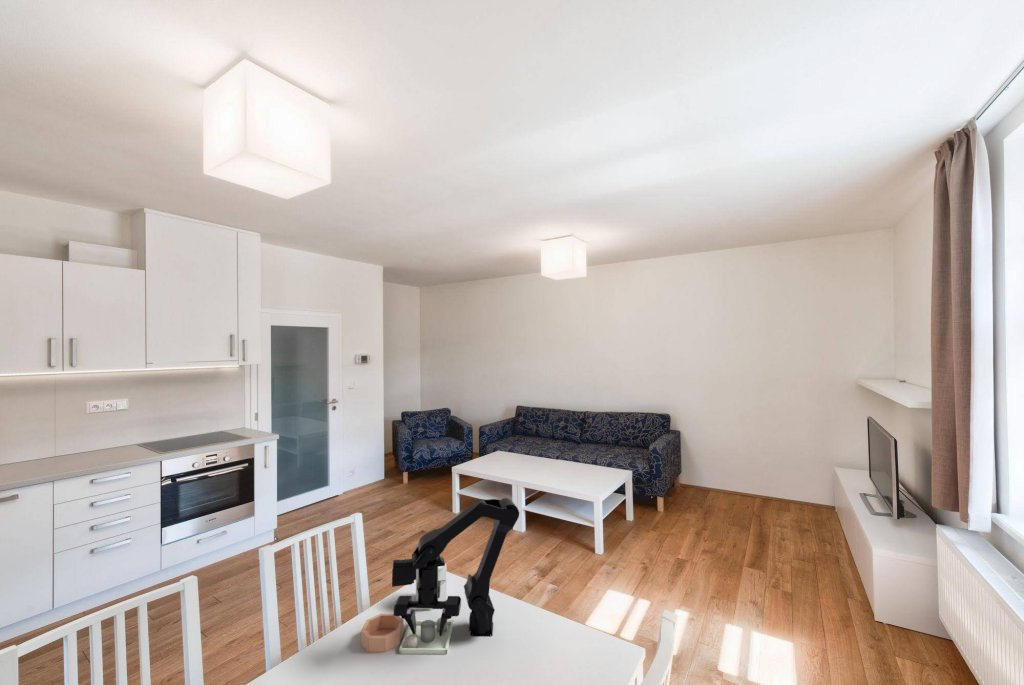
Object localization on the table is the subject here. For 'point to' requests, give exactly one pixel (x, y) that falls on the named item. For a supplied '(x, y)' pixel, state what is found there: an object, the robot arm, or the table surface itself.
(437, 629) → the pebble
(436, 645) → the tray
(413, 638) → the pebble
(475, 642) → the table surface
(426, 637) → the grey rounded cylinder
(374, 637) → the bowl
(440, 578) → the supplement box
